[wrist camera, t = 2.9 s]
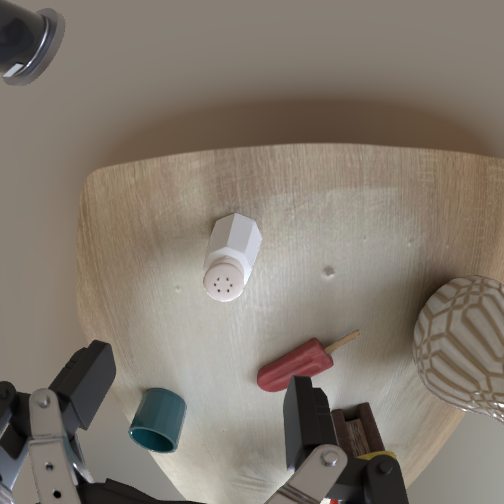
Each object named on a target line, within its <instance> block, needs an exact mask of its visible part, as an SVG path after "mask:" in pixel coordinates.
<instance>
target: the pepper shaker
mask: <svg viewBox="0 0 504 504" xmlns="http://www.w3.org/2000/svg"><path fill="white" fill-rule="evenodd" d="M261 242H262V237H261V234H260V232H259V230H258V227H257V225H256V223H255V220H252V219H250V218H247V217H245V216H242V215H240V214H237V213H233V214H231V215H229V216H226V217H224V218H221V219H219V220H217V221H216V224H215V226H214V229H213V231H212V234H211V237H210V240H209V244H208V249H207V253H206V258H205V262H204V268H203V270H204V272H205V276H204V279H203V284H204V288H205V290H206V292H207V293H208V294H209V295H210V296H211V297H212V298H214V299H216V300H218V301H224V302H225V301H231V300H234V299H236V298H237V297H239V296H240V295H241V293H242V291H243V289H244V286H245V284H246V282H247V280H248V278H249V276H250V273H251V271H252V269H253V266H254V263H255V260H256V257H257V254H258V251H259V248H260V245H261Z"/></svg>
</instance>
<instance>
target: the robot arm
mask: <svg viewBox="0 0 504 504" xmlns="http://www.w3.org/2000/svg"><path fill="white" fill-rule="evenodd" d="M49 32H50V21H49V19H48V18H47V17H46V16H44V15H41V14H38V13H35V12H33V11H31V10H29V9H27V8H24V7H22V6H20V5H17V4H15V3H12V2H10V1H7V0H0V74H4V75H3V76H6V77H10V76H18V75H20V74H22V73H24V72H25V71H26V70H27V69H28V68H29V67H30V66H31V65H32V64H33V63H34V62H35V60H36V59H37V57H38V56H39V54H40V53H41V51H42V49H43V48H44V46H45V43H46V41H47V39H48V36H49ZM115 375H116V366H115V361H114V357H113V352H112V347H111V345H110V344H109V343H106V342H102V341H99V340H94V341H93V342H92V343H91V344H90V345H89V347H88V348H85V347H83V348H82V349H80V350H79V351H77V352H75V353H74V355H73V356H72V357H71V358H70V360H69V362H68V363H67V364H66V365H65V367H64V368H63V369H62V370H61V371H60V373H59V374H58V376H57V377H56V378H55V380H54V381H53V382H52V384H51V385H50V386H49V388H48V389H45V388H43V389H38V390H36V391H34V392H33V393H32V394H27V393H22V392H17V391H16V389H15V387H14V386H13V385H12V383H10V382H7V381H1V382H0V434H1V433H2V431H3V429H4V428H5V426H6V424H7V423H9V425H8V427H7V429H6V431H5V432H4V434H3V436H2V437H1V439H0V504H15V502H14V500H13V495H12V492H11V489H12V487H13V484H14V482H15V480H16V478H17V475H18V473H19V471H20V469H21V466H22V464H23V462H24V460H25V458H26V456H27V454H28V452H29V454H30V461H31V465H32V471H33V476H34V480H35V485H36V489H37V493H38V497H39V500H40V502H39V503H36V504H206V503H199V502H193V501H162V500H157V499H155V498H153V497H150V496H148V495H146V494H145V493H143V492H141V491H139V490H137V489H136V488H134V487H132V486H129V485H126V484H123V483H120V482H117V481H114V480H111V479H108V478H107V479H106V482H105V483H94V481H93V479H92V477H91V475H90V473H89V471H88V469H87V467H86V464H85V461H84V458H83V455H82V452H81V448H80V444H79V441H78V437H77V434H76V431H77V429H78V427H79V428H82V429H84V430H87V429H88V427H89V425H90V423H91V421H92V420H93V418H94V416H95V414H96V412H97V410H98V408H99V406H100V404H101V403H102V401H103V399H104V397H105V395H106V394H107V392H108V390H109V388H110V386H111V385H112V383H113V381H114V379H115ZM283 415H284V430H285V446H286V463H287V471H295V473H294V474H293V475H292V476H291V478H290V479H289V480H288V481H287V482H286V483H285V484H284V485H283V486H281V487H280V488H279V489H278V490H277V491H276V492H275V493H274V494H273V495H272V496H271V497H270V498H269V499H268V500H267V501H266V502H265V503H264V504H320V503H321V501H322V500H323V498H328V499H334V500H340V501H341V504H409V502H408V498H407V494H406V489H405V485H404V481H403V477H402V473H401V469H400V465H399V463H398V461H397V460H396V459H395V458H394V457H392V456H390V455H386V454H380V455H376V456H374V457H373V458H372V459H371V460H366V459H360V458H355V457H351V456H349V455H347V454H346V453H345V452H344V451H343V450H342V449H341V448H340V447H339V446H338V443H337V439H336V435H335V430H334V425H333V421H332V416H331V412H330V408H329V403H328V399H327V396H326V395H325V393H324V392H323V391H322V389H321V388H313V387H312V382H311V378H310V376H304V375H292V376H291V379H290V382H289V385H288V388H287V392H286V395H285V398H284V404H283Z"/></svg>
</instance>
